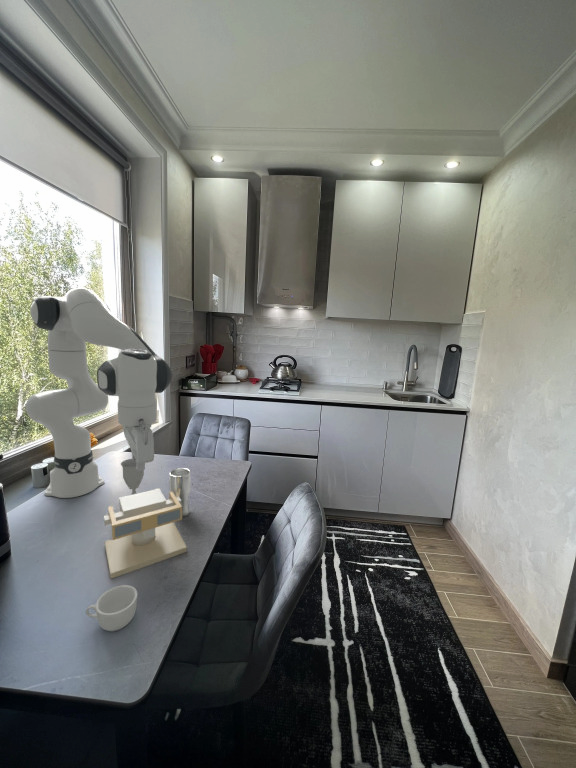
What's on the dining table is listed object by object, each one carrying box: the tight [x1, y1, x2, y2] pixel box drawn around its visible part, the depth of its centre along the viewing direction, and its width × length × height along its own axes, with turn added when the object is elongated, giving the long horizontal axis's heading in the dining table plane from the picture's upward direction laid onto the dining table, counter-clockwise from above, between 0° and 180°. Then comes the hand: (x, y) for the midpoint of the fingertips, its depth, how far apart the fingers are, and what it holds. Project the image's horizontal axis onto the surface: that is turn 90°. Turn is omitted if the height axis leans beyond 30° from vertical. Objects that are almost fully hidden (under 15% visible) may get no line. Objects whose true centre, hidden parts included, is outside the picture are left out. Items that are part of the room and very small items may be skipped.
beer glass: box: [168, 467, 192, 518], centre depth 106 cm, size 7×7×15 cm
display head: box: [103, 488, 188, 579], centre depth 88 cm, size 14×20×14 cm
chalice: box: [120, 458, 145, 495], centre depth 105 cm, size 7×7×18 cm
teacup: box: [85, 584, 138, 632], centre depth 67 cm, size 10×8×5 cm
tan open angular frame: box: [107, 491, 183, 540], centre depth 86 cm, size 10×17×4 cm, turn 125°
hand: (138, 465), depth 81 cm, fingers open, 4 cm apart
